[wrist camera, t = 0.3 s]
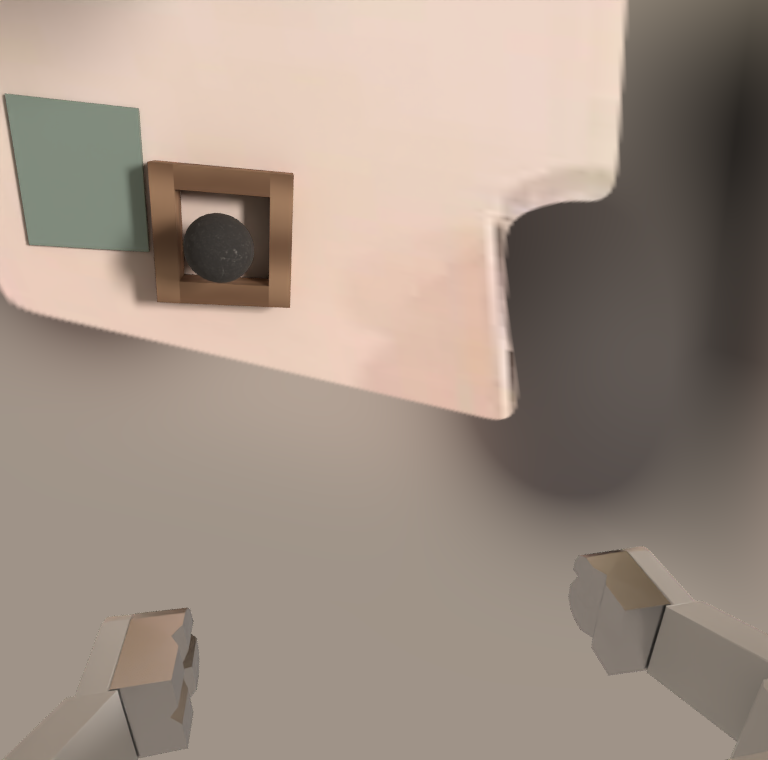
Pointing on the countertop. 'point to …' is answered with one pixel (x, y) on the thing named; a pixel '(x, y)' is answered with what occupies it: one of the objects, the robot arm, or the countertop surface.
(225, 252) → the light bulb
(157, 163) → the socket block
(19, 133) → the rubber mat
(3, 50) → the countertop surface
